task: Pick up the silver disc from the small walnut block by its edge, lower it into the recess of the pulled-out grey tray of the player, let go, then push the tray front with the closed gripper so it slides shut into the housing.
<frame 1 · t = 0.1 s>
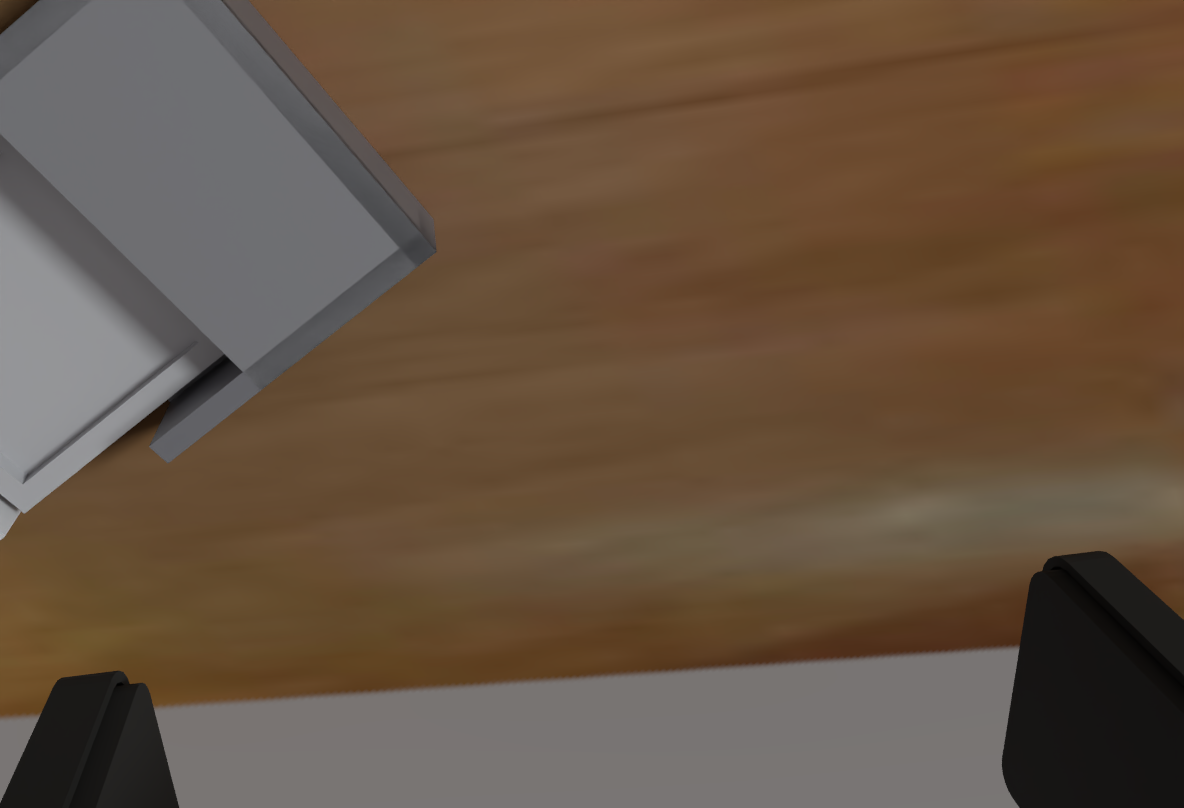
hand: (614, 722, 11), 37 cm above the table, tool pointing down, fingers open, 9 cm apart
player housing: (181, 184, 44), on the table
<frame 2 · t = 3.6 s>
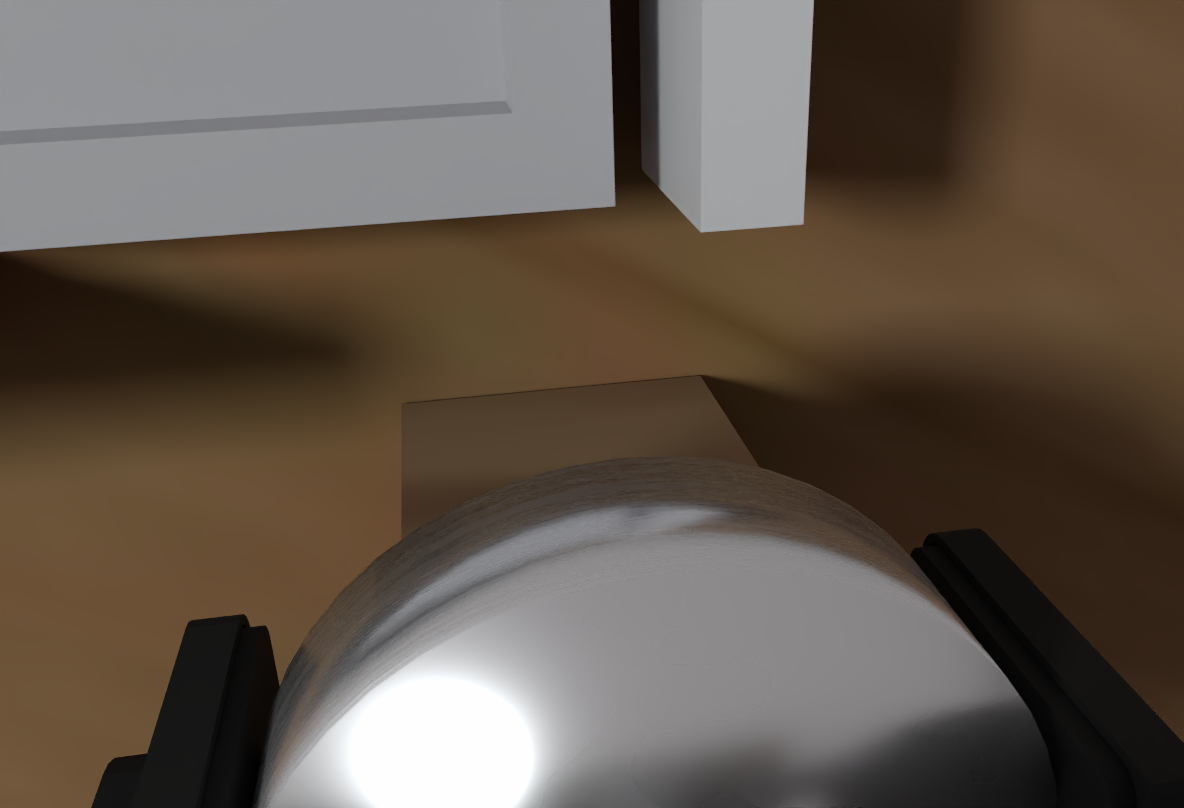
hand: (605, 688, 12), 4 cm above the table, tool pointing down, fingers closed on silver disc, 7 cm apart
walnut block: (560, 519, 15), on the table
silver disc: (626, 771, 11), point 5 cm above the table, touching gripper, walnut block
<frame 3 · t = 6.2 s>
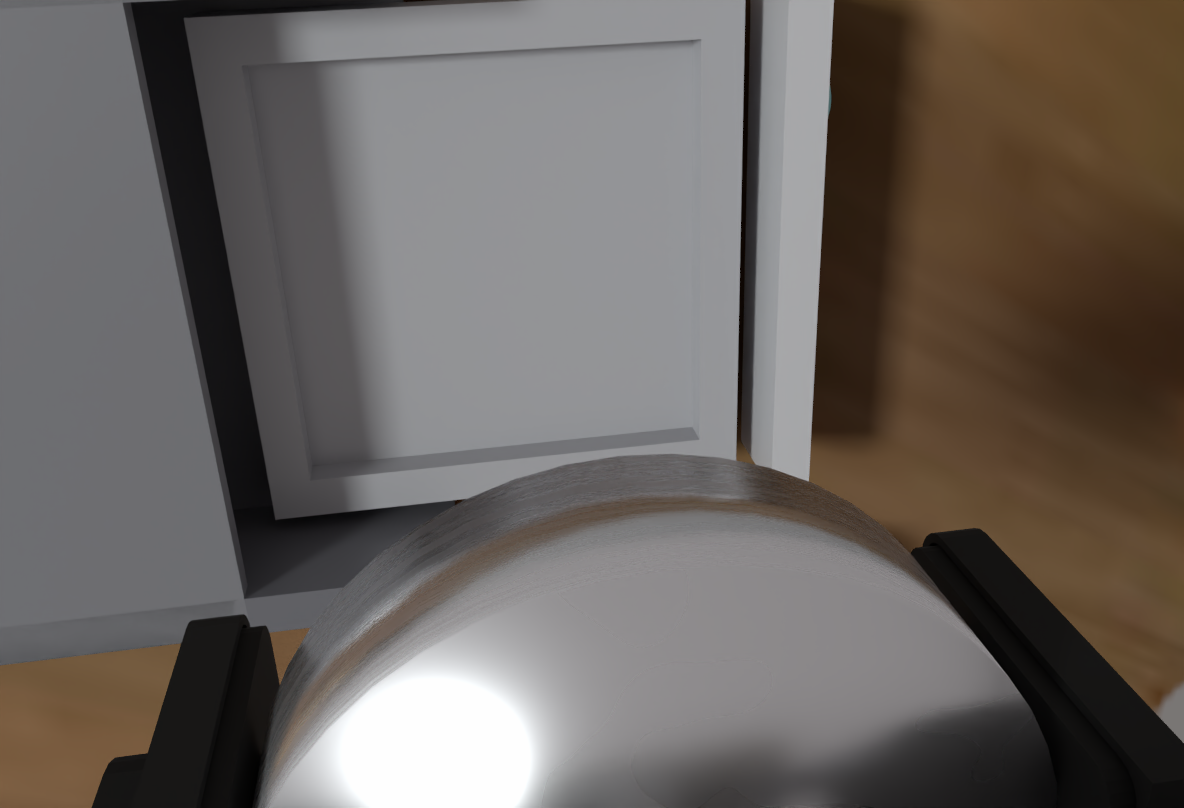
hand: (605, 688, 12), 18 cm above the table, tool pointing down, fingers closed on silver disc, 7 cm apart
silver disc: (627, 769, 11), point 19 cm above the table, touching gripper
tray: (535, 266, 26), point 2 cm above the table, slide at 8.0 cm
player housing: (142, 273, 27), on the table
when the fingers open (2 cm above the table, at t = 9.1 s): silver disc drops 2 cm, resting on tray.
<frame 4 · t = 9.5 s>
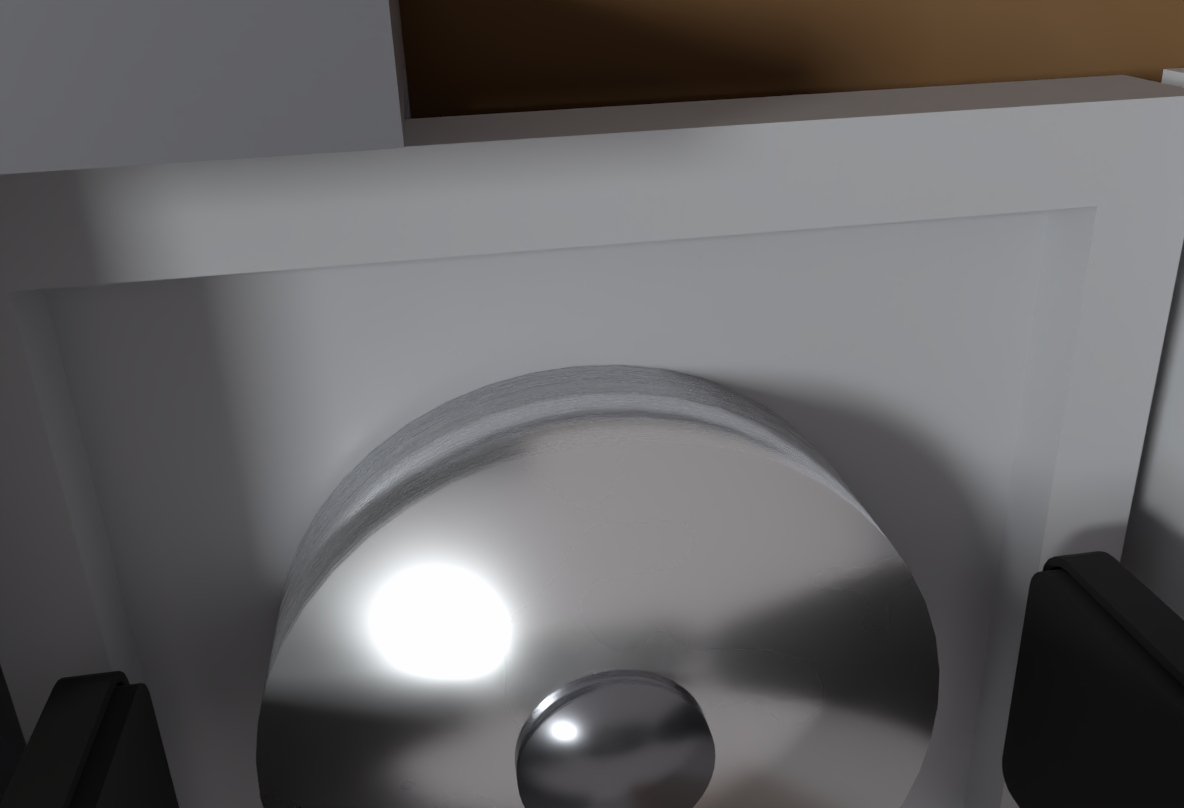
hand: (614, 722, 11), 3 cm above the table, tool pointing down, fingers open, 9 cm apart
silver disc: (586, 642, 13), point 1 cm above the table, touching tray
tray: (688, 663, 12), point 2 cm above the table, slide at 8.0 cm, touching silver disc
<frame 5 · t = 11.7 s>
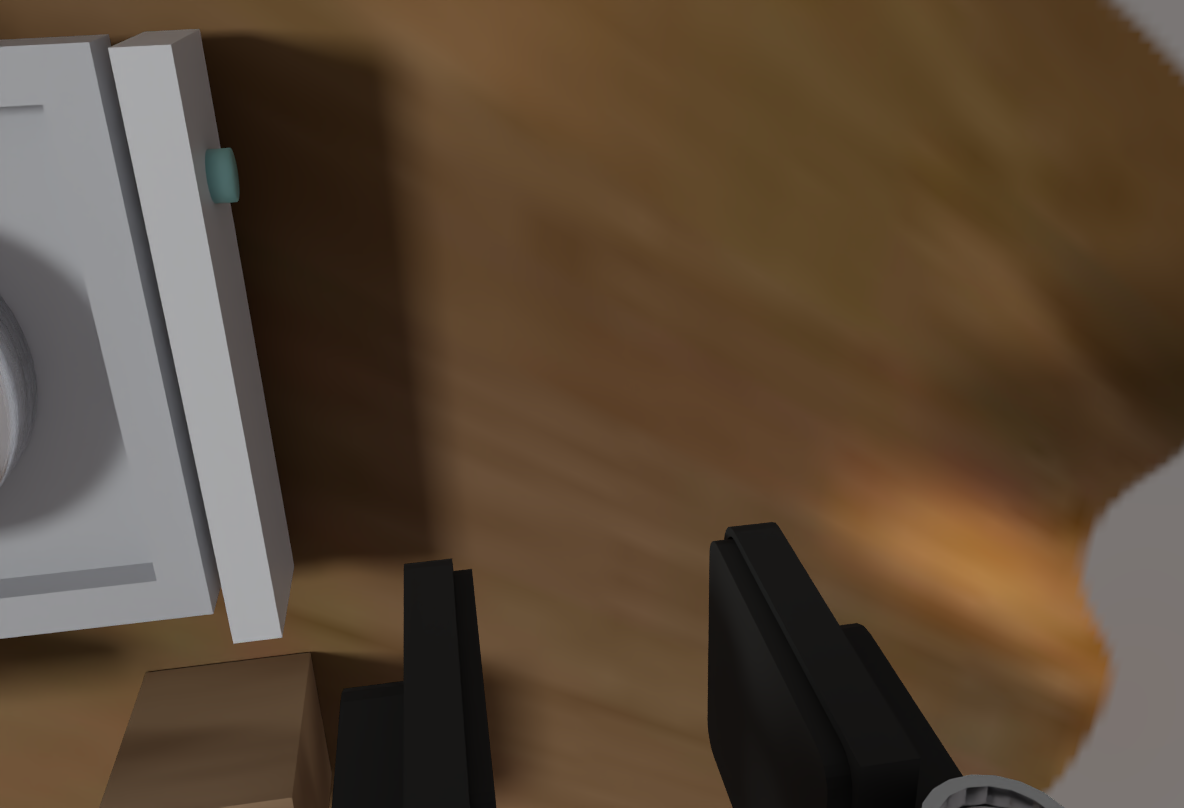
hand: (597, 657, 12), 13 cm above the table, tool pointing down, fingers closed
walnut block: (242, 725, 28), on the table
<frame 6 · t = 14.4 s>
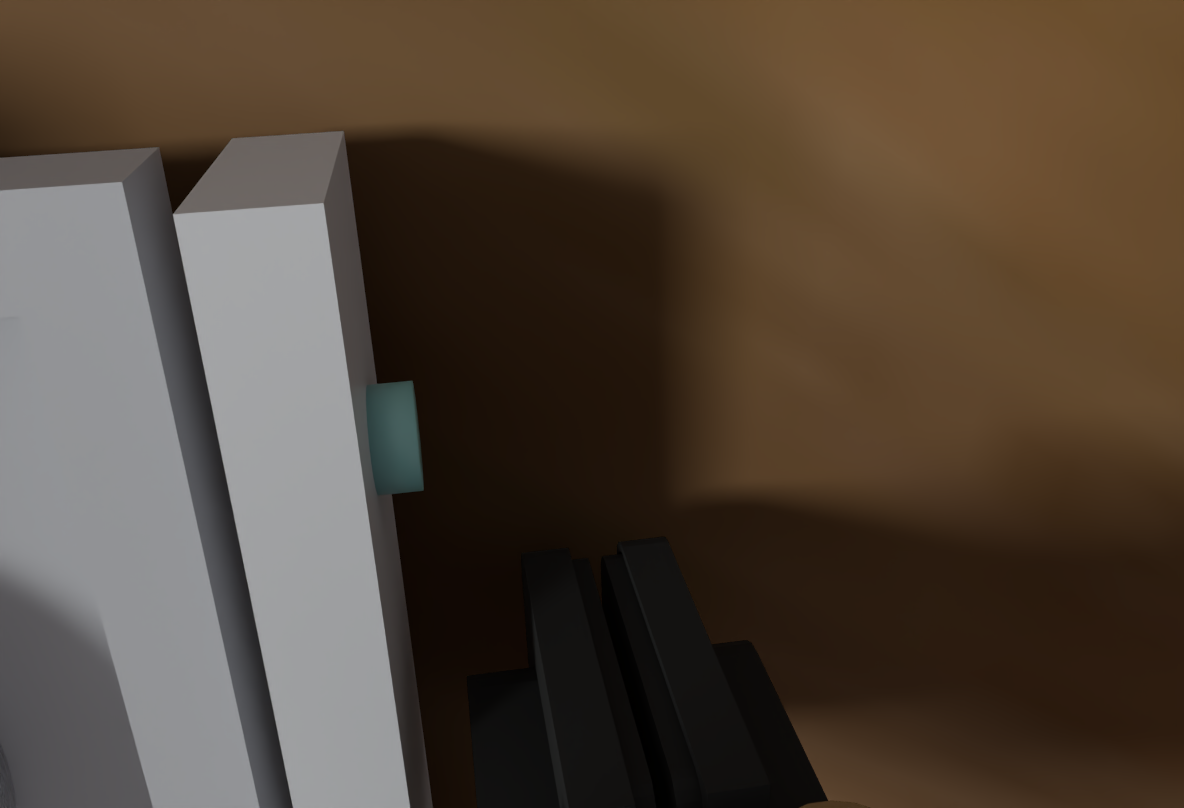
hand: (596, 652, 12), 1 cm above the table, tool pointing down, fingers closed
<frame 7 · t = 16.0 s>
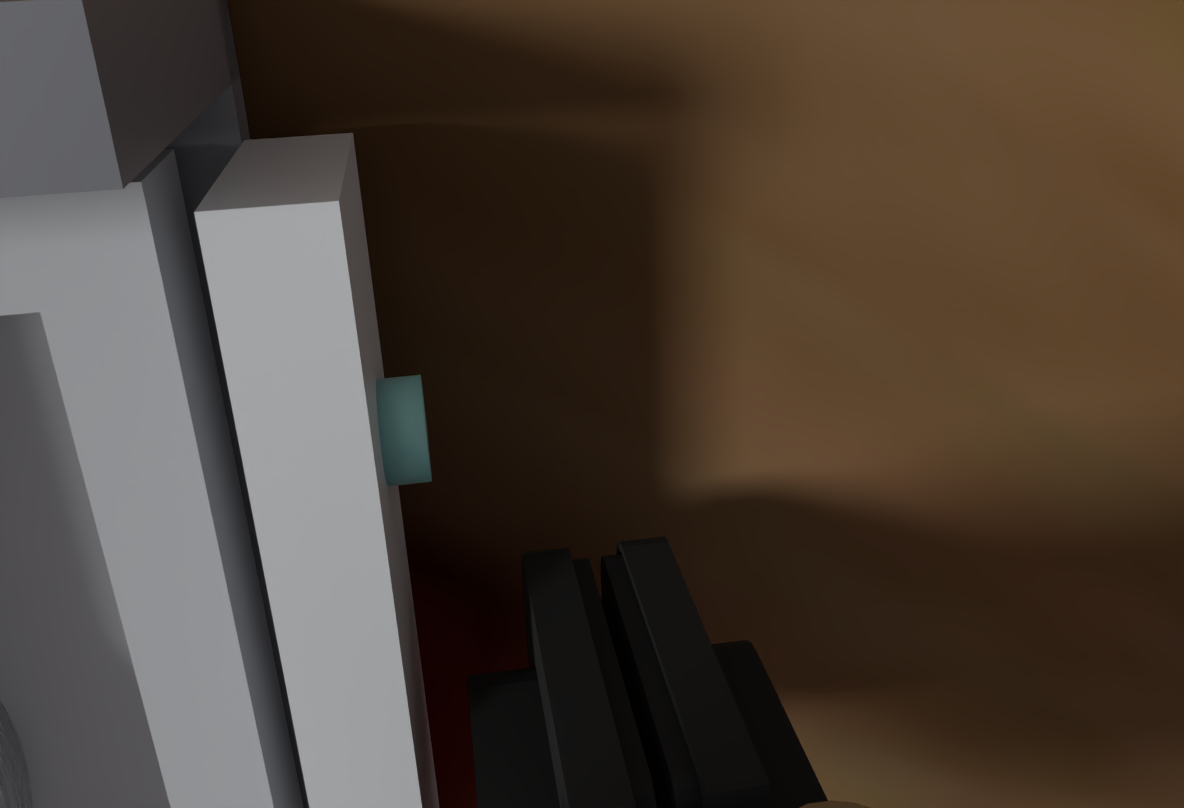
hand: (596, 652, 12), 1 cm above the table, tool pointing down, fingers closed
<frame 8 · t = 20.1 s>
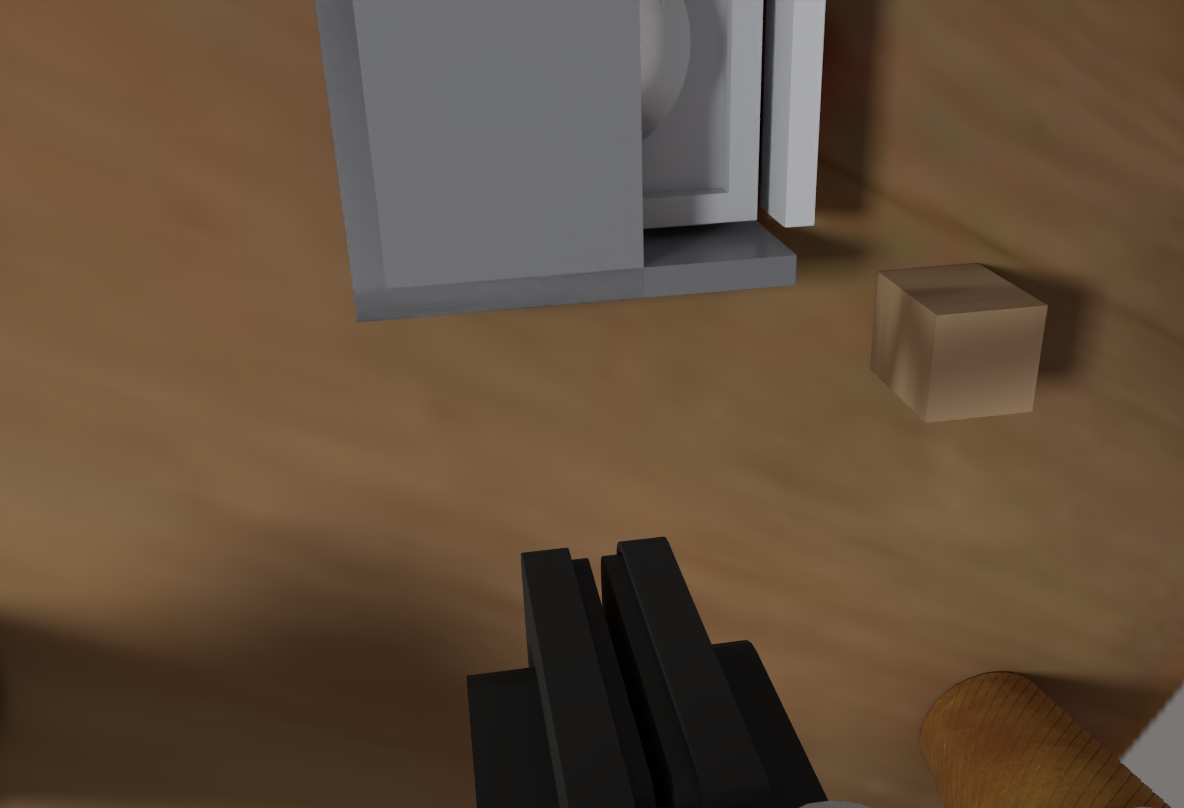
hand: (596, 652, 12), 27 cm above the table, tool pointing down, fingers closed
walnut block: (923, 316, 42), on the table
disposable coffee cup: (980, 722, 52), on the table
silver disc: (569, 42, 34), point 1 cm above the table, touching tray
tray: (606, 42, 34), point 2 cm above the table, slide at 0.0 cm, touching silver disc
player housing: (550, 38, 36), on the table
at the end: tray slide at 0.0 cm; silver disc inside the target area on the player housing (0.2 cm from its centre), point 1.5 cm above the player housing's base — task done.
